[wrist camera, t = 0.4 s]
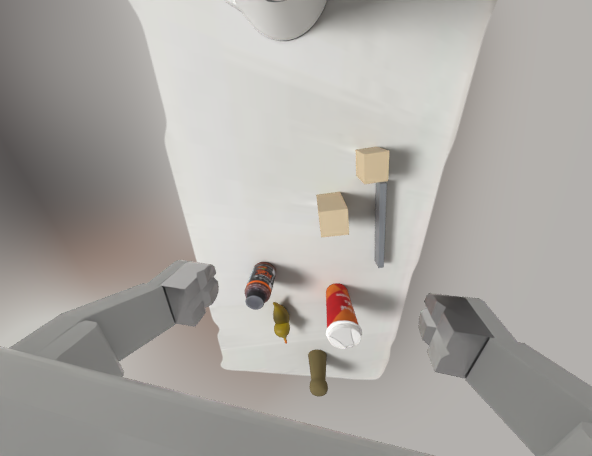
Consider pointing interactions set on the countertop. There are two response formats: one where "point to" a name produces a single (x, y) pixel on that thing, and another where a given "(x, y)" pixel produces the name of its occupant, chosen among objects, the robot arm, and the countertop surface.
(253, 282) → the supplement bottle
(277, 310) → the yellow toy bird
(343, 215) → the tan rectangular block
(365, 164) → the tea box
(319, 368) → the cork
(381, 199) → the rail
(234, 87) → the countertop surface
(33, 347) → the robot arm
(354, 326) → the paper cup
